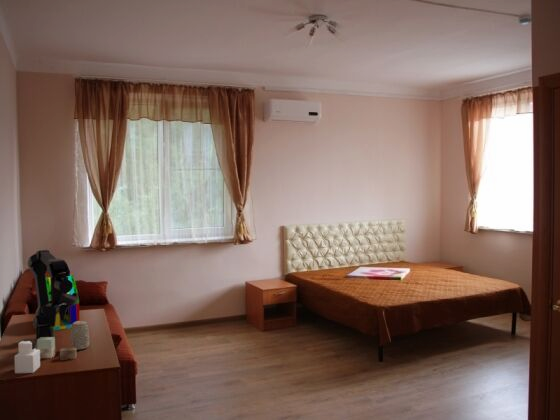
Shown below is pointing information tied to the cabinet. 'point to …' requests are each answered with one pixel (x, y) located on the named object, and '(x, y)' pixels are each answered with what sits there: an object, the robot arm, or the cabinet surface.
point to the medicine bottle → (27, 357)
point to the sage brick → (45, 342)
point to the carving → (80, 335)
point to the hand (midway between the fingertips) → (58, 323)
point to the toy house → (71, 312)
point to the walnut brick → (68, 353)
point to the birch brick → (47, 353)
